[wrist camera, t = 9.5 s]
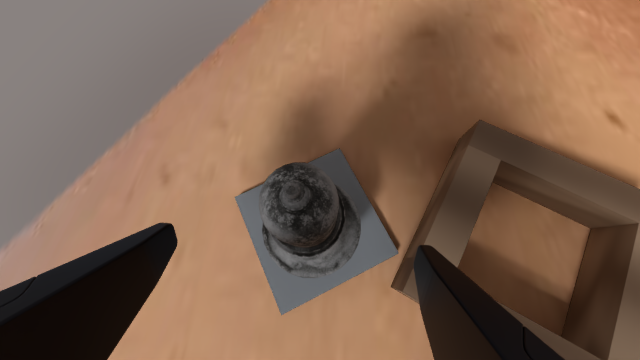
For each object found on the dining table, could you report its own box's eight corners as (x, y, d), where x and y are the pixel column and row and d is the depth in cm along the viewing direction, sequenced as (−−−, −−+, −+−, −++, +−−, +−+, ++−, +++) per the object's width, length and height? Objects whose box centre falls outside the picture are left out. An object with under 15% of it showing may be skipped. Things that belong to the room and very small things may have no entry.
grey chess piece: (277, 279, 18) (181, 319, 6) (271, 197, 19) (188, 109, 8) (361, 268, 18) (421, 288, 6) (348, 187, 19) (376, 85, 8)
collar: (587, 403, 16) (645, 435, 13) (390, 286, 18) (402, 291, 15) (631, 217, 19) (685, 209, 16) (459, 138, 21) (479, 119, 18)
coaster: (283, 313, 18) (281, 315, 17) (237, 198, 20) (234, 197, 20) (396, 253, 18) (398, 253, 18) (339, 151, 21) (339, 148, 20)
